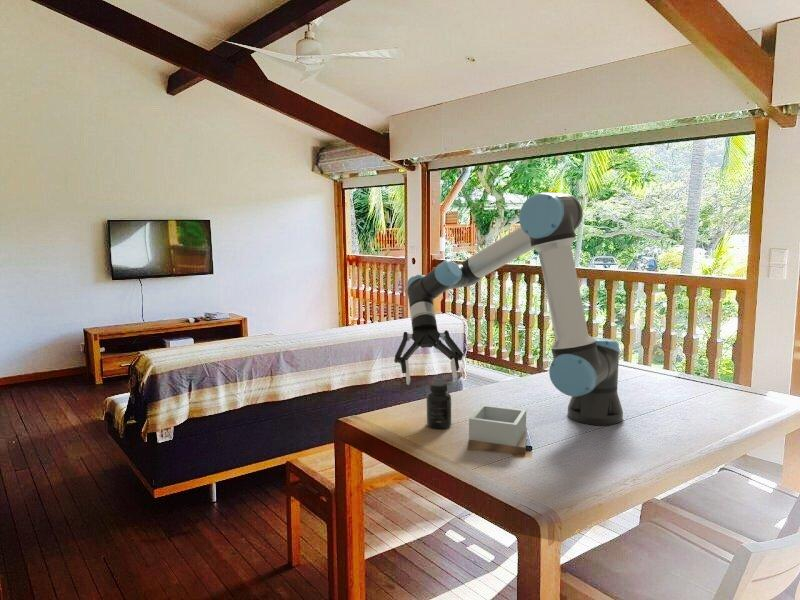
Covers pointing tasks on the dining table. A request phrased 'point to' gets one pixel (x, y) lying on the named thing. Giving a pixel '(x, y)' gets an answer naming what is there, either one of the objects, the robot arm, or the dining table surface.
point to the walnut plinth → (499, 446)
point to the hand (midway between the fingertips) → (432, 381)
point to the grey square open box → (497, 425)
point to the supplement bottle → (438, 406)
